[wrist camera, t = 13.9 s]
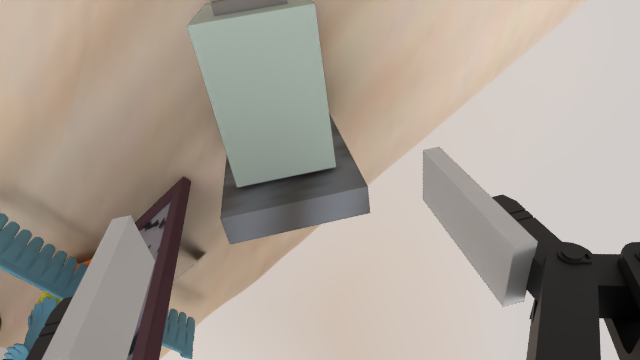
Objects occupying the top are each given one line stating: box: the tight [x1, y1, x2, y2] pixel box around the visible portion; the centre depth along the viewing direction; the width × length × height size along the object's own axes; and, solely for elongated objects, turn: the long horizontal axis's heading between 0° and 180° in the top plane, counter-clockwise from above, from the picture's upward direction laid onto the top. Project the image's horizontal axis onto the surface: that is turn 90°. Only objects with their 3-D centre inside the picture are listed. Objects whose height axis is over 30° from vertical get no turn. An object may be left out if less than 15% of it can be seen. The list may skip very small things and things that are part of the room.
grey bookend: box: [220, 100, 370, 244], centre depth 32 cm, size 11×12×18 cm
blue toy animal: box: [0, 213, 195, 360], centre depth 42 cm, size 28×9×15 cm, turn 38°
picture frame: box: [127, 177, 203, 360], centre depth 38 cm, size 17×10×25 cm, turn 131°
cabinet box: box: [187, 0, 336, 187], centre depth 31 cm, size 8×13×12 cm, turn 8°
